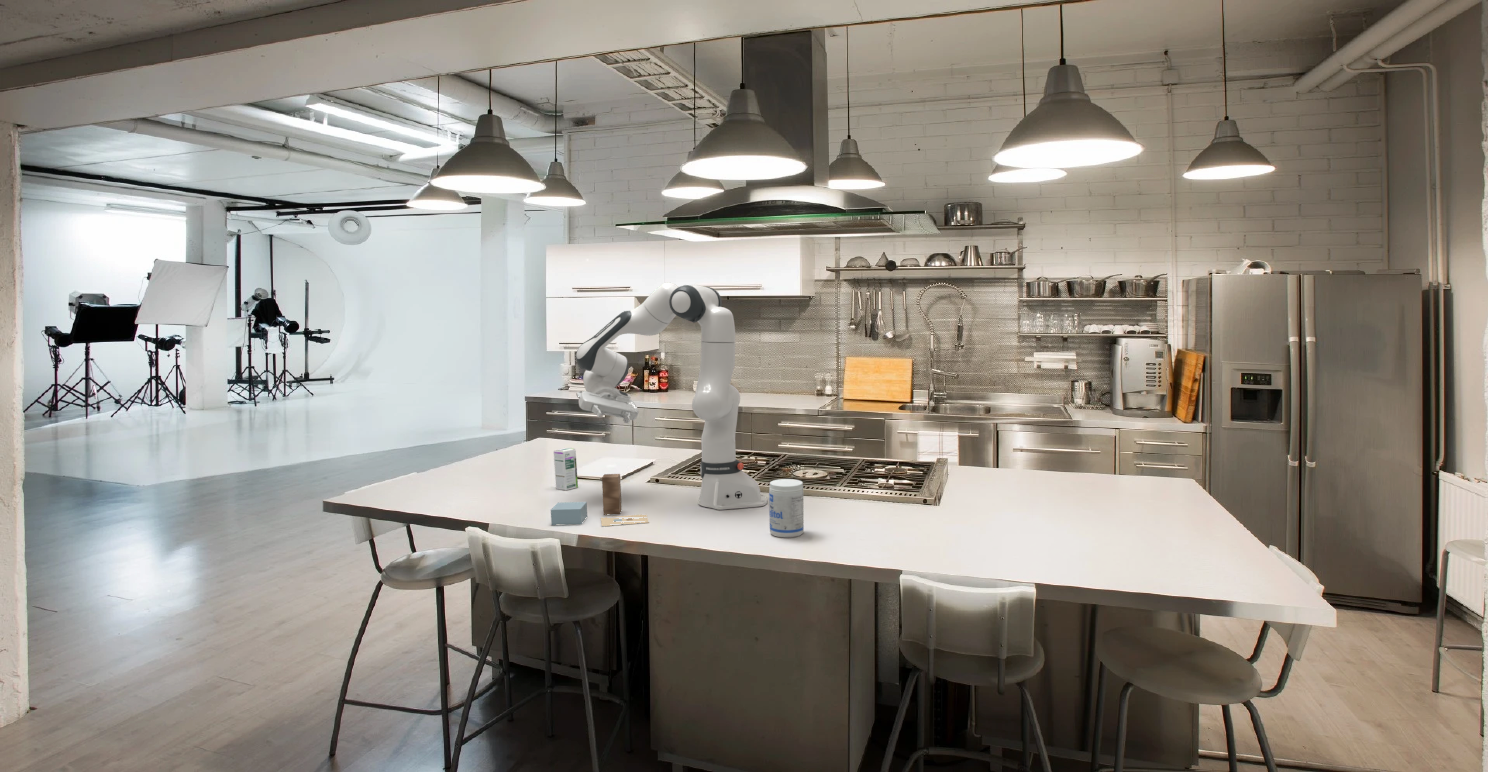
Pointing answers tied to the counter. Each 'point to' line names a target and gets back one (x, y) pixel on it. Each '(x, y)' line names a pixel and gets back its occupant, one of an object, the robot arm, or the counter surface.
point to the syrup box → (565, 468)
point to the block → (611, 494)
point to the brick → (569, 513)
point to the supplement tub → (786, 508)
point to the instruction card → (609, 521)
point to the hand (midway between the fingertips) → (614, 418)
